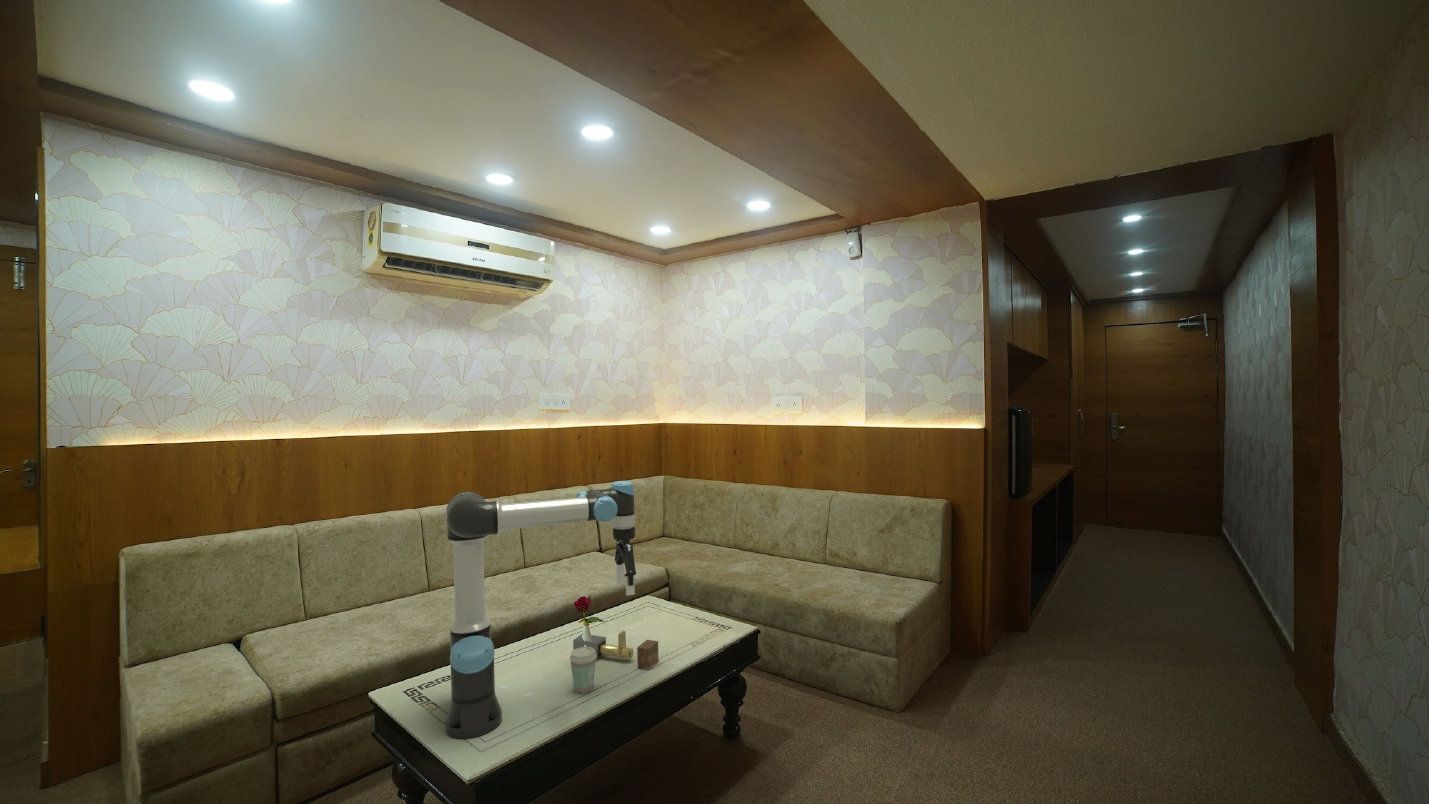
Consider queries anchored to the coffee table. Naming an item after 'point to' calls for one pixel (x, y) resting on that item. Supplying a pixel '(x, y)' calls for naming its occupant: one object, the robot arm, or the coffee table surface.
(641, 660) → the brown wooden block
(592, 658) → the coffee cup
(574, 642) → the sleeve
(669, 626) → the coffee table surface
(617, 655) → the tube
